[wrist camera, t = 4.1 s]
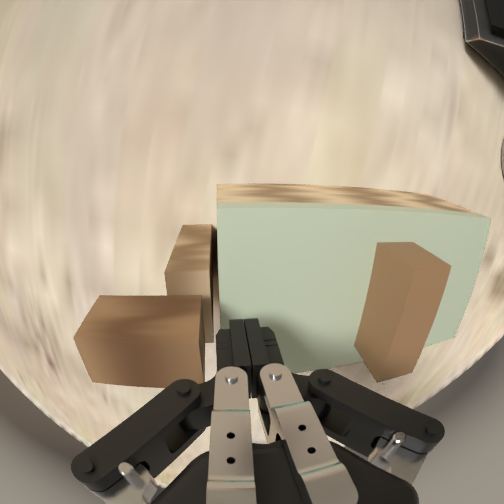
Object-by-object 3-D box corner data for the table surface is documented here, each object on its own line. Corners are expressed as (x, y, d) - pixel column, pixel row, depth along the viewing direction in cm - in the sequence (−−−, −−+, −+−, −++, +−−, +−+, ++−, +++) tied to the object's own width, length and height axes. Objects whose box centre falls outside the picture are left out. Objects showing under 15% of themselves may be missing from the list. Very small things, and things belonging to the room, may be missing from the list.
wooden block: (201, 295, 15) (198, 342, 11) (205, 338, 16) (204, 388, 12) (99, 295, 14) (73, 337, 10) (111, 337, 15) (92, 381, 12)
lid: (479, 213, 18) (524, 234, 13) (446, 329, 22) (477, 361, 17) (216, 202, 15) (217, 232, 10) (222, 364, 20) (227, 423, 15)
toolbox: (427, 194, 26) (491, 218, 17) (407, 293, 30) (454, 337, 21) (181, 185, 23) (158, 210, 14) (189, 309, 27) (181, 379, 18)
